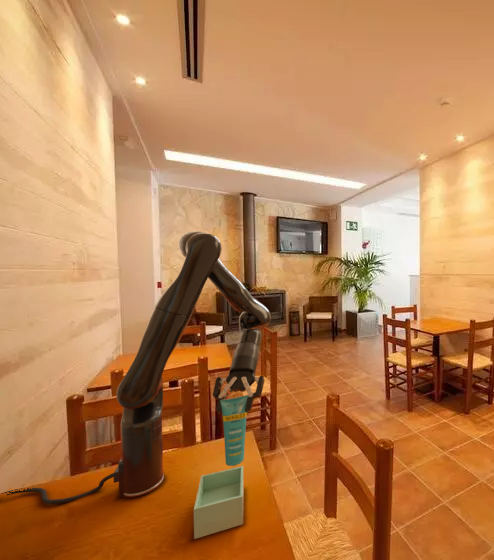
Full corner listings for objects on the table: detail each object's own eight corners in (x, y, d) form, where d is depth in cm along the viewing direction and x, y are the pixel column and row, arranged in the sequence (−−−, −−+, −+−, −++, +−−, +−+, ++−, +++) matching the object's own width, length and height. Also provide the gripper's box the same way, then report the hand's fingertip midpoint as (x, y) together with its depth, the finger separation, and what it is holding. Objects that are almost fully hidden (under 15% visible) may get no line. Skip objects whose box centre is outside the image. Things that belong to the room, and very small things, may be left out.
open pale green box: (194, 539, 69) (193, 509, 68) (201, 501, 80) (201, 475, 80) (243, 524, 73) (242, 496, 73) (243, 490, 84) (243, 465, 84)
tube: (222, 470, 85) (221, 403, 84) (220, 461, 89) (219, 396, 88) (250, 461, 89) (249, 397, 88) (247, 452, 93) (246, 391, 92)
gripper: (218, 354, 94) (202, 409, 83) (266, 353, 96) (256, 406, 85) (225, 365, 99) (210, 418, 88) (270, 364, 101) (261, 415, 90)
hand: (233, 412), depth 86 cm, fingers closed on tube, 7 cm apart
